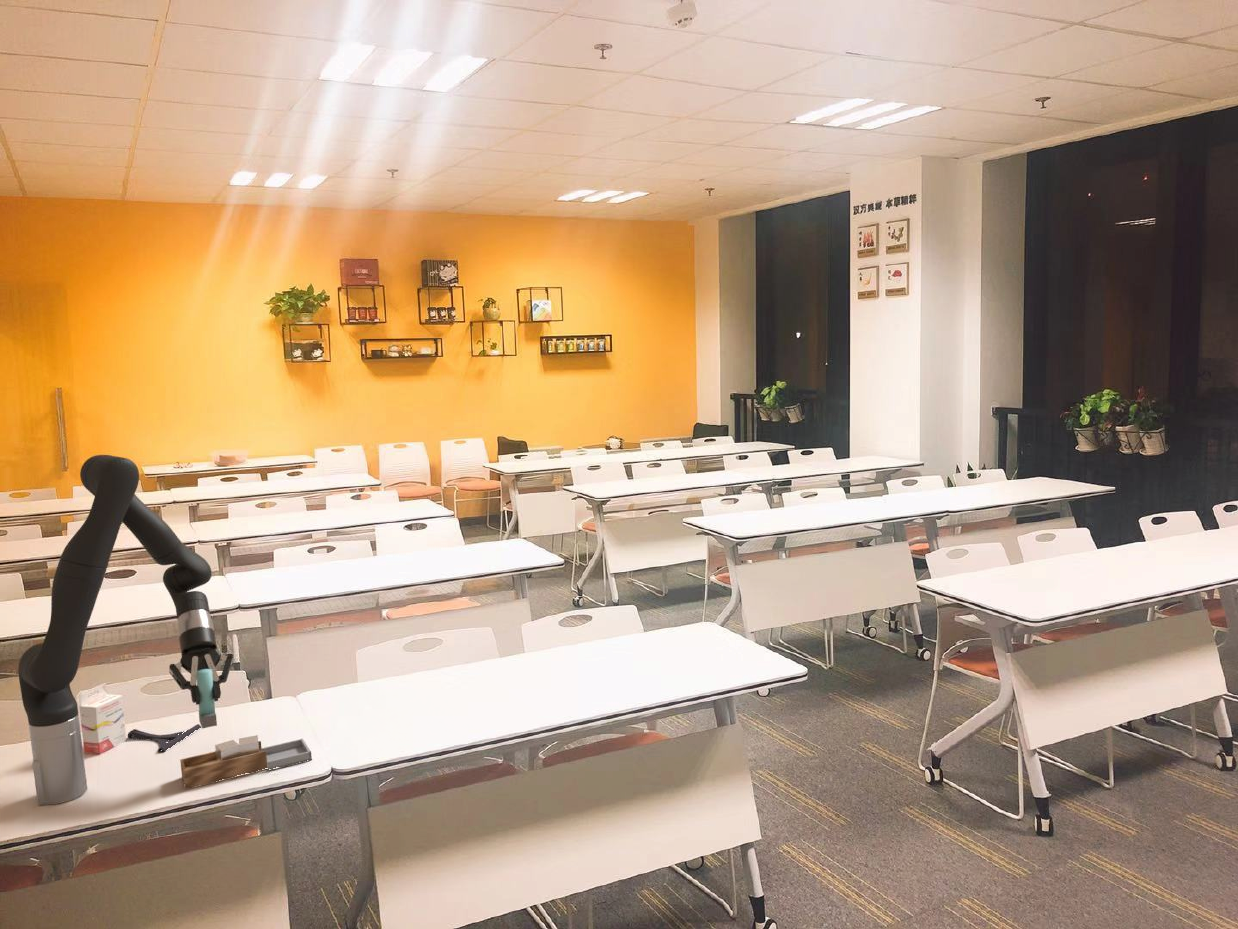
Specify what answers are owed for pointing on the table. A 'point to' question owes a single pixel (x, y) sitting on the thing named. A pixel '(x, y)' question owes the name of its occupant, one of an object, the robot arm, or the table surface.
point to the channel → (219, 767)
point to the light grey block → (227, 750)
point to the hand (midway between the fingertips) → (207, 701)
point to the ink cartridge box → (101, 720)
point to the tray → (287, 754)
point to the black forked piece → (163, 737)
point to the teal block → (206, 698)
